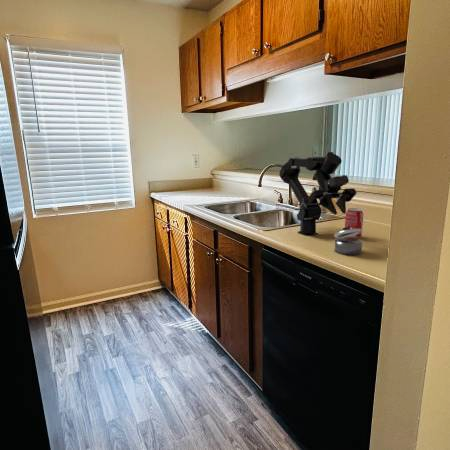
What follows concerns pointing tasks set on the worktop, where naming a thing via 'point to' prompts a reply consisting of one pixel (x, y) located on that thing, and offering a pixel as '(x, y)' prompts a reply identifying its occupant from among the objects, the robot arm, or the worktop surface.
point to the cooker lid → (347, 232)
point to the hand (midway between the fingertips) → (340, 213)
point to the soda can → (354, 220)
